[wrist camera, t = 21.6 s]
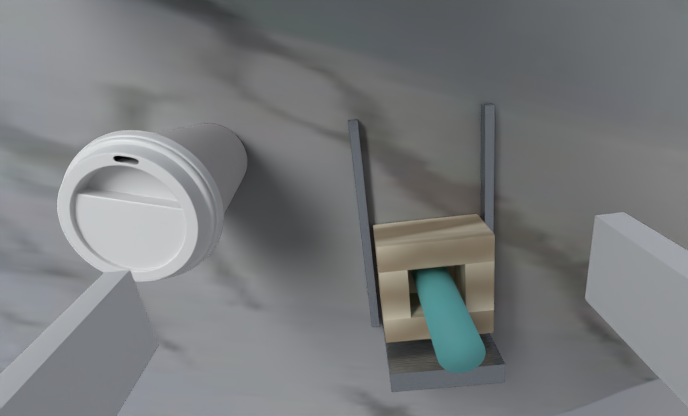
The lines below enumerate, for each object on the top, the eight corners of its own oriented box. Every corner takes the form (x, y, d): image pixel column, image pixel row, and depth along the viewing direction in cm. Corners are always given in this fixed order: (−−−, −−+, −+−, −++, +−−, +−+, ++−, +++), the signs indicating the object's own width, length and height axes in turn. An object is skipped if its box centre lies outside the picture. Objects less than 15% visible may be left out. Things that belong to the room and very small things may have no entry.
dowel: (412, 286, 40) (437, 375, 29) (410, 255, 39) (435, 336, 28) (446, 282, 40) (485, 370, 29) (445, 252, 39) (485, 331, 27)
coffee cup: (282, 141, 36) (241, 194, 22) (236, 224, 39) (174, 318, 25) (184, 84, 34) (72, 101, 20) (144, 175, 37) (21, 246, 23)
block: (372, 224, 39) (376, 247, 34) (477, 213, 38) (494, 234, 34) (381, 311, 42) (386, 342, 38) (477, 302, 42) (493, 332, 37)
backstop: (348, 120, 35) (348, 136, 28) (490, 103, 35) (529, 115, 27) (373, 335, 43) (378, 393, 36) (488, 324, 43) (518, 381, 35)
